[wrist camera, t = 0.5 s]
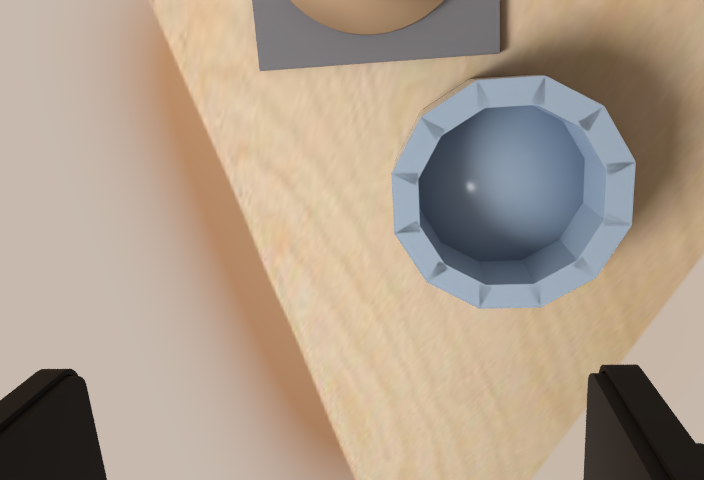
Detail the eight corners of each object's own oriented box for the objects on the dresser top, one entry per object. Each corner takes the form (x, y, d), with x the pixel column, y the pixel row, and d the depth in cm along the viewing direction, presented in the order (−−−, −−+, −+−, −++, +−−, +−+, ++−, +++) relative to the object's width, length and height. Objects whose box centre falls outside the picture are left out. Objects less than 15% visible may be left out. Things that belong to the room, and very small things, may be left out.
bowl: (391, 84, 35) (387, 86, 30) (610, 69, 33) (641, 69, 28) (401, 280, 38) (398, 310, 33) (600, 275, 37) (626, 305, 32)
